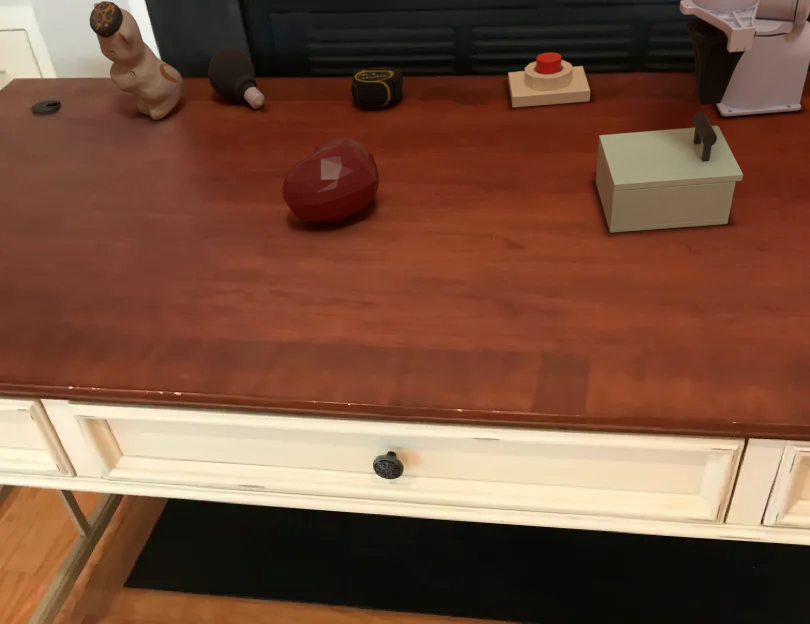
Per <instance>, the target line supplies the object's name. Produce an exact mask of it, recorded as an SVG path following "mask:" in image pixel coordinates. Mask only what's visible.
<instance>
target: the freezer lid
mask: <svg viewBox="0 0 810 624" xmlns="http://www.w3.org/2000/svg"><path fill="white" fill-rule="evenodd" d="M692 123H693V125H694V127H686V128H672V129H660V130H647V131H636V132H635V131H634V132H624V133H623V132H622V133H609V134H600V135H598V145H599V144H600V147H601V150H602V153H603V157H604V160H605V163H606V167H607V170H608V173H609V176H610V180H611V183H612V186H613V190H614V191H616V190H629V189H642V188H655V187H668V186H681V185H694V184H707V183H720V182H733V181H735V182H742V181H743V177H744V173H743V171H742V170H741V167H740V165H739V164H738V161H737V160H736V158H735V156H734V154H733V152H732V150H731V148H730V146H729V144H728V142H727V140H726V138H725V136H724V134H723V132H722V130H721V128H720V127H719V125H712V124H711V122H710V120H709V117H708V116H707V114H706V113H705V112H702V111H699V112H697V113H696V114H695V115H694V116H693V118H692Z"/></svg>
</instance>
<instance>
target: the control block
mask: <svg viewBox="0 0 810 624" xmlns="http://www.w3.org/2000/svg"><path fill="white" fill-rule="evenodd" d="M507 85H508V90H509V96H510V102H511V107H512V109H513V108H526V107H537V106H551V105H559V104H560V105H561V104H571V103H572V104H573V103H583V102H590V100H591V88H590V85H589V81H588V79H587V75H586V73H585V69H584V66H583V65H579V66H573V65H572V64H571V63H570V62H568V61H566V60H564V59H561V71H560V72H558V73H555V74H547V75H546V74H539V73H537V72H536V61H533V62H529V64H527V65H526V66H525V67H524V70H519V71H510V72H507Z"/></svg>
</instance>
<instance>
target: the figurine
mask: <svg viewBox="0 0 810 624" xmlns="http://www.w3.org/2000/svg"><path fill="white" fill-rule="evenodd" d="M89 27H90V28H91V30H92V31H93V32H94V33H95V34H96V38H97V42H98V43H99V44H98V45H99V49H100V52H101V54H102V55H103V56H104V57H105V58H107V59H108V60H109V61H111V62H112V64H111V66H110V70H109V77H110V80H111V81H112V83H113V84H114V85H116V86H117V87H118V88H119V90H120V91H122V92H124V93H128V94H132V95H134V97H136V98H137V99H138V102H137V107H138V110H139V112H140V113H141V114H144V115H146V116H147V115H148V116H150V118H151V119H152V120H154V121H157V120H161V119H163V118H164V117H165V116H167V114H169V112H171V111H172V110H173V108H174V107H176V105H178V103H179V101H180V99H181V97H182V96H183V90H184V81H183V78H182V75H181V74H180V72H179V71H178V70H177V69H176V68H174V67H173V66H172V65H169V64H168V63H166V62H165V61H164V60H162V59H160V58H159V57H158V56H157V55H156V54H155V53H154V52H153V49H152V48H150V47H149V45H148V44H147V43H145V41H144V39H143V36H142V33H141V30H140V26H139V24H138V21H137V20H136V19H135V17H134V16H133V14H132V13H131V12H130V11H128V10H127V9H124V8H122V7H119V6H118V5H117V4H116V3H115V2H113V1H105V0H103V1H100V2H96V3H94V4H93V9H92V11H91V12H90V16H89Z"/></svg>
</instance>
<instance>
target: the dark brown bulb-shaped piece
mask: <svg viewBox="0 0 810 624" xmlns="http://www.w3.org/2000/svg"><path fill="white" fill-rule="evenodd" d="M207 76H208V81H209V83H210V86H211V88H212V89H213V90H214V92H215V93H216V94H217V95H218V96H220V97H221V98H222V99H225V100H229V101H240V102H247V103H248V104H249V105H250V106H251V108H252V109H254V110H258V109H260V108H261V107H262V106H263V105H264V103H265V95H264V94H263V93H262V92H261V91H260V90H259V89H258V83H257V80H256V71H255V68H254V65H253V62H252V61H251V59H250V58H249V56H248V55H247V54H245V52H243V51H241V50H239V49H236V48H233V47H227V48H222V49H220V50H218V51H217V52H216V53H215V54H214V55H212V57H211V58H210V62H209V64H208V68H207Z"/></svg>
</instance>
